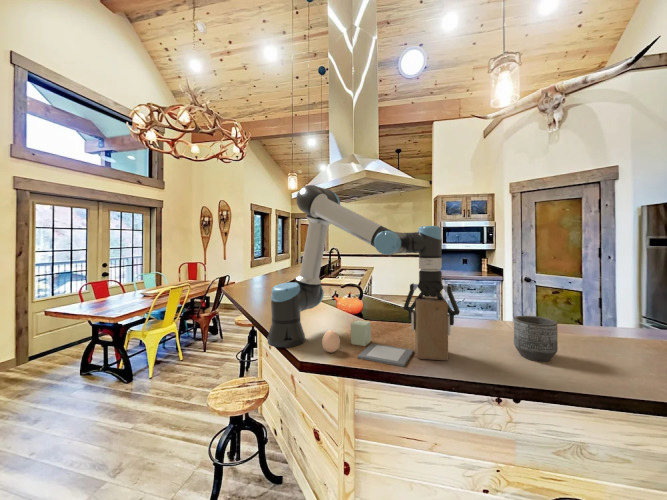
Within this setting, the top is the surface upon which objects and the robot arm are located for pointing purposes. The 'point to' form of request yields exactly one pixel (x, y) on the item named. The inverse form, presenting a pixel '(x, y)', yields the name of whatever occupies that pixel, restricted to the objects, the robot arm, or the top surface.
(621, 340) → the top surface
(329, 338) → the egg
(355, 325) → the sage block
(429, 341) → the wooden block
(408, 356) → the slate mat
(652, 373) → the top surface
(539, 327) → the planter
